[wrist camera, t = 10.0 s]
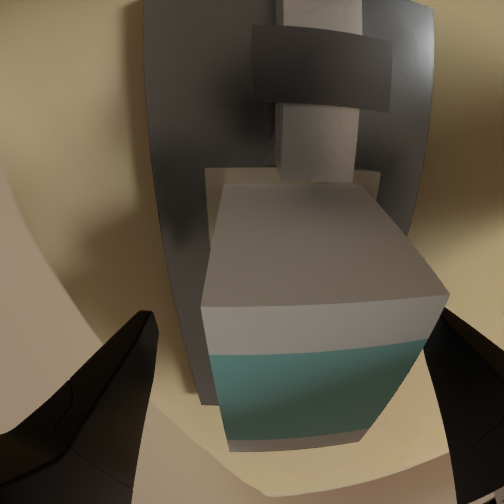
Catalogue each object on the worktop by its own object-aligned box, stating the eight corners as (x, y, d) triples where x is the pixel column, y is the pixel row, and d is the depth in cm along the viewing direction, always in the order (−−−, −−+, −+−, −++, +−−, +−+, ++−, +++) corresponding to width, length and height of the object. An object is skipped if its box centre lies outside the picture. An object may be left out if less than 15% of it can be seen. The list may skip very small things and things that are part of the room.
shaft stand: (418, 12, 6) (490, -1, 3) (342, 386, 17) (353, 439, 14) (153, -7, 6) (102, -45, 3) (202, 391, 17) (197, 447, 14)
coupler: (332, 332, 13) (358, 441, 8) (233, 335, 13) (230, 451, 8) (361, 185, 9) (450, 294, 5) (223, 184, 9) (200, 307, 4)
